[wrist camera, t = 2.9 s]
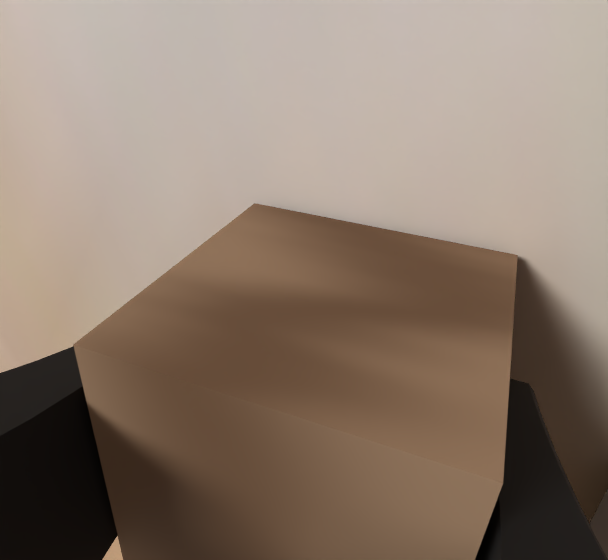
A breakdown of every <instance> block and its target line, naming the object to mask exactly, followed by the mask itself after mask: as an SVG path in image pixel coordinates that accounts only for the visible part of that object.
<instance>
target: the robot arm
mask: <svg viewBox="0 0 608 560" xmlns="http://www.w3.org/2000/svg"><path fill="white" fill-rule="evenodd" d="M116 537H117V530H116V526H115V522H114V517H113V513H112V509H111V505H110V500H109V496H108V492H107V487H106V483H105V479H104V474H103V470H102V466H101V462H100V457H99V453H98V449H97V444H96V440H95V436H94V432H93V427H92V423H91V419H90V414H89V410H88V406H87V402H86V397H85V393H84V389H83V384H82V380H81V376H80V372H79V367H78V363H77V359H76V354H75V350H74V346H73V347H71V348H68V349H66V350H63V351H60V352H58V353H55V354H53V355H50V356H48V357H45V358H42V359H40V360H37V361H34V362H32V363H29V364H26V365H23V366H20V367H17V368H14V369H11V370H8V371H5V372H2V373H0V560H102V559H103V557H104V556H105V554H106V552H107V551H108V549H109V548H110V546H111V545H112V543H113V541H114V540H115V538H116ZM475 560H608V559H607V557H606V555H605V553H604V551H603V549H602V547H601V545H600V544H599V542H598V540H597V538H596V536H595V534H594V532H593V530H592V528H591V526H590V524H589V522H588V520H587V518H586V516H585V514H584V512H583V510H582V508H581V506H580V504H579V502H578V500H577V498H576V496H575V493H574V491H573V489H572V487H571V485H570V483H569V480H568V478H567V476H566V474H565V472H564V470H563V467H562V465H561V463H560V460H559V458H558V456H557V453H556V451H555V449H554V446H553V444H552V441H551V439H550V436H549V434H548V431H547V428H546V426H545V423H544V420H543V418H542V415H541V412H540V409H539V406H538V403H537V400H536V397H535V394H534V391H533V389H532V388H531V386H530V385H529V384H528V383H524V382H520V381H517V380H513V379H510V383H509V399H508V415H507V430H506V446H505V462H504V477H503V485H502V488H501V490H500V493H499V496H498V498H497V501H496V504H495V507H494V509H493V512H492V515H491V517H490V520H489V523H488V526H487V528H486V531H485V534H484V536H483V539H482V542H481V545H480V547H479V550H478V553H477V555H476V558H475Z"/></svg>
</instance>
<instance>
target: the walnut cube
mask: <svg viewBox="0 0 608 560" xmlns="http://www.w3.org/2000/svg"><path fill="white" fill-rule="evenodd" d="M517 258H518V255H514V254H509V253H504V252H499V251H493V250H488V249H483V248H478V247H473V246H468V245H463V244H458V243H453V242H448V241H443V240H438V239H433V238H428V237H422V236H417V235H412V234H407V233H402V232H397V231H392V230H387V229H382V228H377V227H372V226H367V225H362V224H356V223H351V222H346V221H341V220H336V219H331V218H326V217H321V216H316V215H311V214H306V213H301V212H296V211H290V210H285V209H280V208H275V207H270V206H265V205H260V204H253V205H252V206H251V207H249V208H248V209H247V210H246V211H244V212H243V213H242V214H240V215H239V216H238V217H237V218H235V219H234V220H233V221H231V222H230V223H229V224H228V225H226V226H225V227H224V228H222V229H221V230H220V231H219V232H217V233H216V234H215V235H213V236H212V237H211V238H210V239H208V240H207V241H206V242H204V243H203V244H202V245H201V246H199V247H198V248H197V249H196V250H194V251H193V252H192V253H190V254H189V255H188V256H187V257H185V258H184V259H183V260H181V261H180V262H179V263H178V264H176V265H175V266H174V267H172V268H171V269H170V270H169V271H167V272H166V273H165V274H163V275H162V276H161V277H160V278H158V279H157V280H156V281H154V282H153V283H152V284H151V285H149V286H148V287H147V288H145V289H144V290H143V291H142V292H140V293H139V294H138V295H136V296H135V297H134V298H133V299H131V300H130V301H129V302H127V303H126V304H125V305H124V306H122V307H121V308H120V309H119V310H117V311H116V312H115V313H113V314H112V315H111V316H110V317H108V318H107V319H106V320H104V321H103V322H102V323H101V324H99V325H98V326H97V327H95V328H94V329H93V330H92V331H90V332H89V333H88V334H86V335H85V336H84V337H83V338H81V339H80V340H79V341H77V342H76V343H75V344H74V345H73V346H74V350H75V354H76V359H77V363H78V367H79V372H80V376H81V380H82V384H83V389H84V393H85V397H86V402H87V406H88V410H89V414H90V419H91V423H92V427H93V432H94V436H95V440H96V444H97V449H98V453H99V457H100V462H101V466H102V470H103V474H104V479H105V483H106V487H107V492H108V496H109V500H110V505H111V509H112V513H113V517H114V522H115V526H116V530H117V535H118V539H119V543H120V547H121V552H122V556H123V560H475V558H476V555H477V553H478V550H479V547H480V545H481V542H482V539H483V536H484V534H485V531H486V528H487V526H488V523H489V520H490V517H491V515H492V512H493V509H494V507H495V504H496V501H497V498H498V496H499V493H500V490H501V488H502V485H503V477H504V462H505V446H506V430H507V415H508V399H509V383H510V367H511V352H512V336H513V320H514V305H515V289H516V273H517Z"/></svg>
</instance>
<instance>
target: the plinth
mask: <svg viewBox="0 0 608 560" xmlns="http://www.w3.org/2000/svg"><path fill="white" fill-rule="evenodd" d="M590 526H591V528H592V530H593V532H594V534H595V536H596V538H597V540H598V542H599V544H600V545H601V547H602V549H603V551H604V553H605V555H606V557H607V559H608V489H607V491H606V493H605V495H604V497H603V499H602V501H601V502H600V504H599V506H598V508H597V510H596V512H595V514H594V516H593V518H592V520H591V522H590Z"/></svg>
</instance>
